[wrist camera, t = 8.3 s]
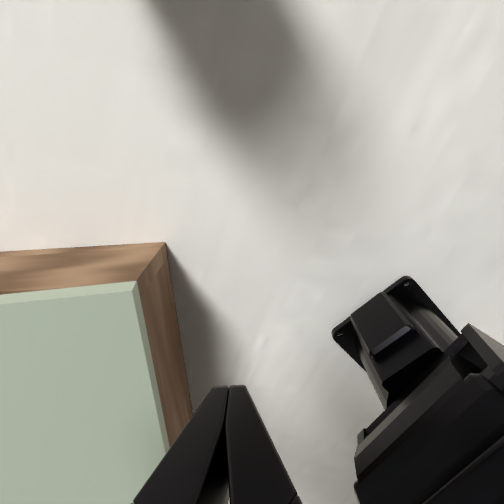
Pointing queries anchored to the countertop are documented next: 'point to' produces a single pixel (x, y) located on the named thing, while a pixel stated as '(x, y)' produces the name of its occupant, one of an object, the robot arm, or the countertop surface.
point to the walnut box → (115, 271)
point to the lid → (77, 397)
